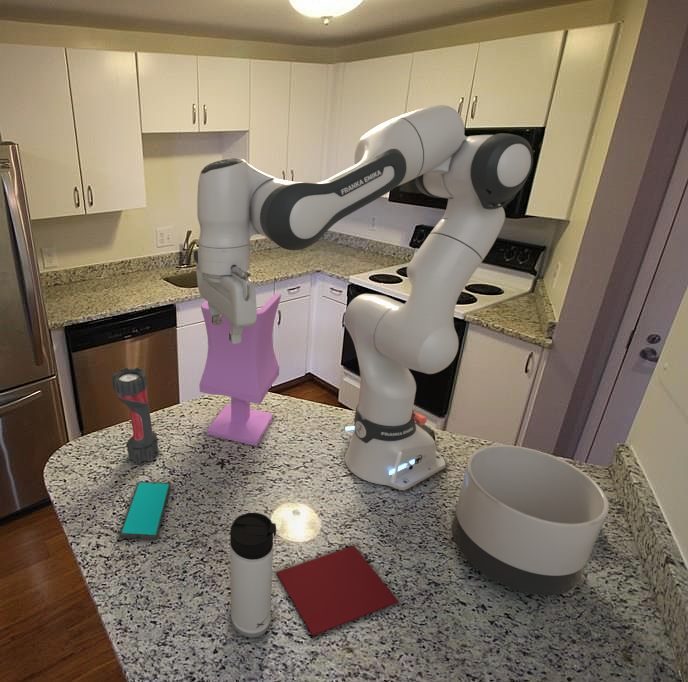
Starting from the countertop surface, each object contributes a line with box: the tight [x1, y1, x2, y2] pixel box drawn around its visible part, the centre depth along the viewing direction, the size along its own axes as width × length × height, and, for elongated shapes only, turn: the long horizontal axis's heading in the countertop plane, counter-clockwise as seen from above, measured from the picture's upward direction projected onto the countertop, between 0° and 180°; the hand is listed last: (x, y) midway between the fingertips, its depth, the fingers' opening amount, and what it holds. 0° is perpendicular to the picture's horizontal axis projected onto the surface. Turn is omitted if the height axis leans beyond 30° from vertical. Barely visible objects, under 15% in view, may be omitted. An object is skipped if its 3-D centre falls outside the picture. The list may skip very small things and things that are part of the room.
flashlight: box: [111, 366, 160, 464], centre depth 108 cm, size 8×8×23 cm
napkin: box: [276, 545, 399, 637], centre depth 79 cm, size 16×12×1 cm
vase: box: [198, 293, 282, 447], centre depth 116 cm, size 16×16×35 cm
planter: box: [451, 444, 610, 597], centre depth 80 cm, size 19×19×18 cm
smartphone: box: [119, 481, 171, 541], centre depth 96 cm, size 7×1×15 cm
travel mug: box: [229, 512, 277, 638], centre depth 70 cm, size 6×7×20 cm
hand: (225, 332), depth 86 cm, fingers open, 8 cm apart
